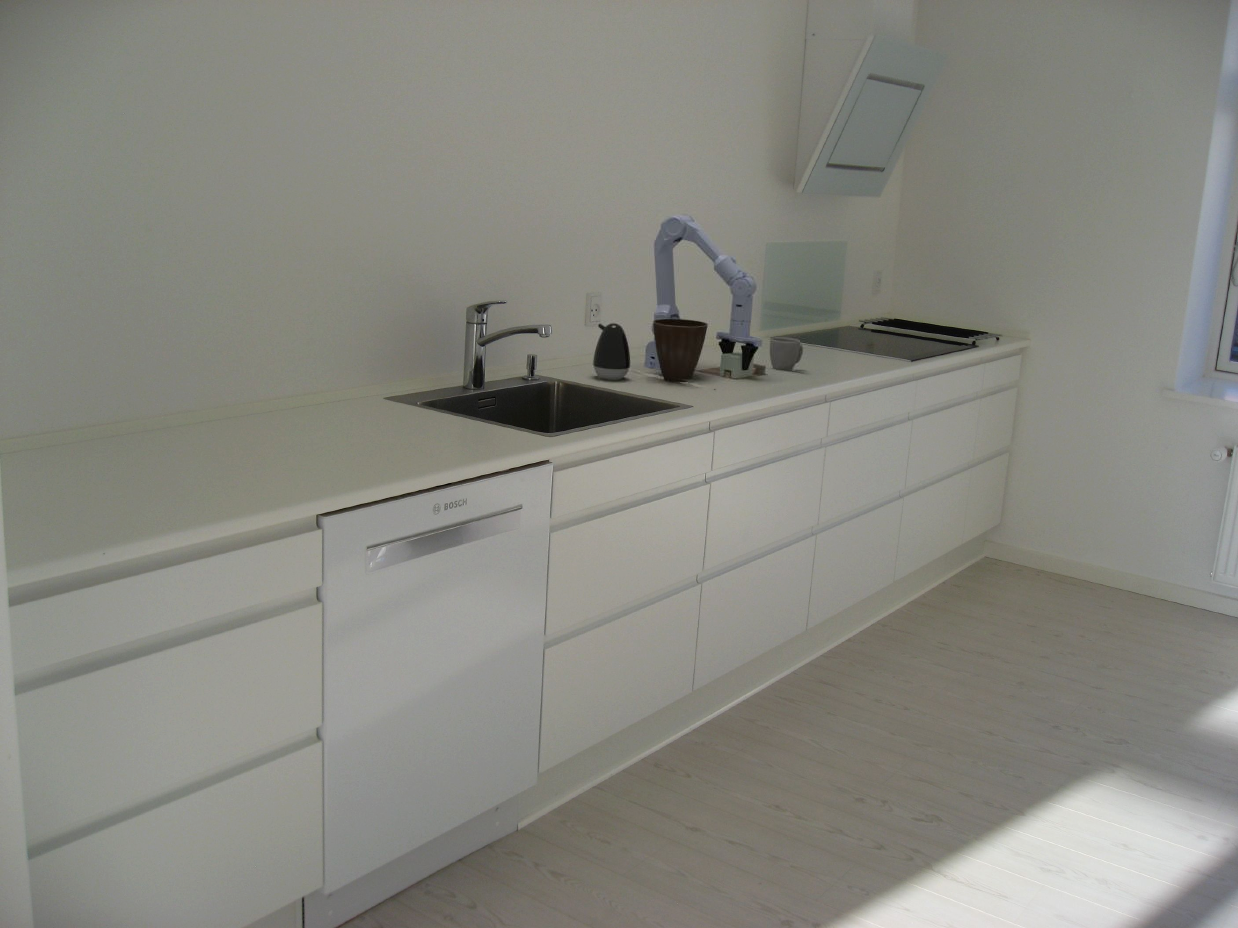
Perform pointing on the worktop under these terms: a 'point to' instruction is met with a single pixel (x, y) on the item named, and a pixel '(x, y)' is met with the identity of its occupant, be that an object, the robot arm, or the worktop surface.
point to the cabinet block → (734, 365)
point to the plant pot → (678, 346)
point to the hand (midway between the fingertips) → (736, 368)
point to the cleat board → (717, 372)
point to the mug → (785, 353)
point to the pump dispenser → (612, 353)
